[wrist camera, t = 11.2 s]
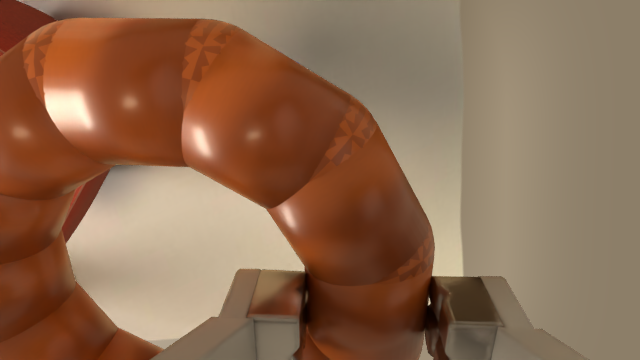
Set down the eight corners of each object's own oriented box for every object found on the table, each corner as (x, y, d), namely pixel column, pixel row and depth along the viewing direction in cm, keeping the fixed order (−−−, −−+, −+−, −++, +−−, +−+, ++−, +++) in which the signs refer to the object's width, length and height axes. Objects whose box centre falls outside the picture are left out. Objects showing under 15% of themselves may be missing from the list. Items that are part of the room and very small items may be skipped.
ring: (446, 17, 9) (484, 25, 6) (401, 416, 13) (412, 517, 11) (-84, 13, 10) (-245, 19, 7) (45, 391, 14) (-24, 479, 12)
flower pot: (-38, 116, 48) (-221, 175, 32) (21, -41, 41) (-173, -62, 25) (118, 209, 51) (22, 302, 36) (195, 79, 45) (118, 124, 29)
